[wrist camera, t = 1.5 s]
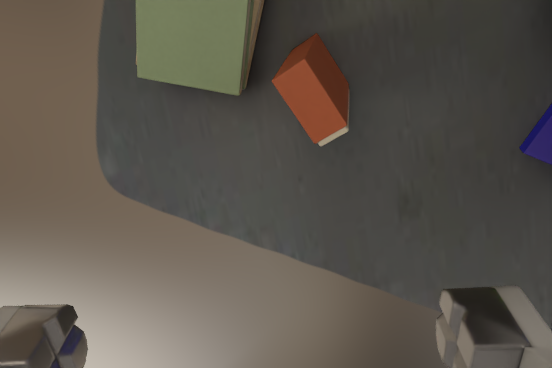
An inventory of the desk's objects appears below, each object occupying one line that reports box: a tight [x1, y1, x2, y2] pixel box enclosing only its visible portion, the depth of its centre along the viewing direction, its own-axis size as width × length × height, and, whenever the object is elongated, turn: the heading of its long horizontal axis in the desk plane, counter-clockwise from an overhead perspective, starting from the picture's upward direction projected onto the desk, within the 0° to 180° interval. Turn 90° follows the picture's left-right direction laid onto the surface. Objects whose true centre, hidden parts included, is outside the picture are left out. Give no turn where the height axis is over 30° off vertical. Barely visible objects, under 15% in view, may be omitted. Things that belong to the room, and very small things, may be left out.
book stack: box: [136, 0, 264, 96], centre depth 40 cm, size 14×11×5 cm
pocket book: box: [272, 33, 350, 147], centre depth 38 cm, size 3×6×12 cm, turn 35°
